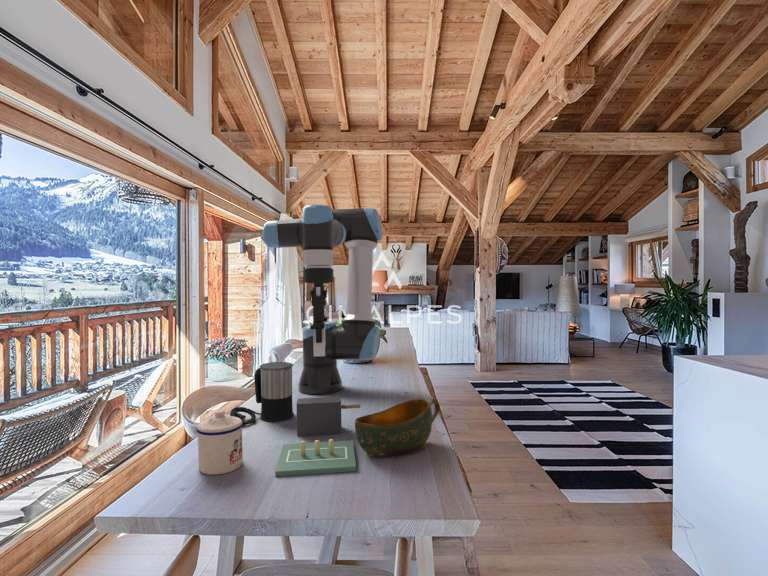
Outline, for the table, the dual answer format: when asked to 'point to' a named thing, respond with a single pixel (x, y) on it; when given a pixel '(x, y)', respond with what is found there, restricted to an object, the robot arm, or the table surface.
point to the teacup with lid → (220, 444)
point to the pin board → (316, 458)
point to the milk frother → (271, 393)
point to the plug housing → (320, 415)
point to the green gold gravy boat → (397, 429)
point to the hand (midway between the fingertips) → (319, 351)
